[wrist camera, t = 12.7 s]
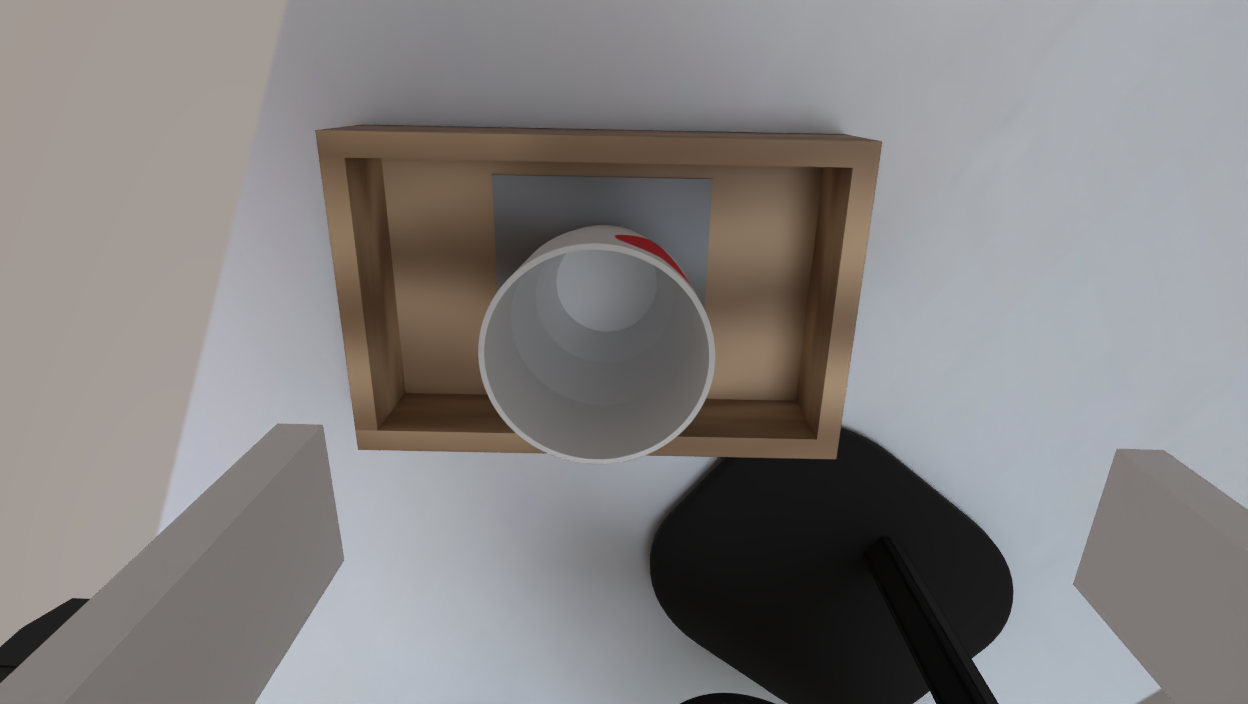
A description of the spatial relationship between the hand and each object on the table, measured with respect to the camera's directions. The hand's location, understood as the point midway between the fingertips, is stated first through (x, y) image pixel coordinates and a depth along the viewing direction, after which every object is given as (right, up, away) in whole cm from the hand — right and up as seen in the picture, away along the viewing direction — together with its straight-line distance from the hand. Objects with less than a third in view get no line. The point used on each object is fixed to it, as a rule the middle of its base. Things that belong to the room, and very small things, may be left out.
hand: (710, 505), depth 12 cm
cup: (-2, +6, +21) cm, 22 cm away
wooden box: (-2, +6, +22) cm, 23 cm away
